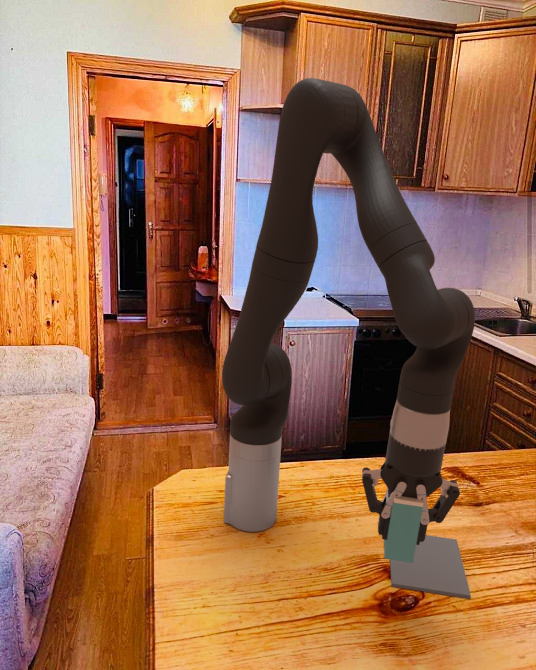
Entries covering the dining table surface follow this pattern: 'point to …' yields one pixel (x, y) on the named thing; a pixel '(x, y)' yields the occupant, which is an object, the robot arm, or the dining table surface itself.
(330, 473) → the dining table surface
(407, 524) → the block
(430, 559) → the mat
